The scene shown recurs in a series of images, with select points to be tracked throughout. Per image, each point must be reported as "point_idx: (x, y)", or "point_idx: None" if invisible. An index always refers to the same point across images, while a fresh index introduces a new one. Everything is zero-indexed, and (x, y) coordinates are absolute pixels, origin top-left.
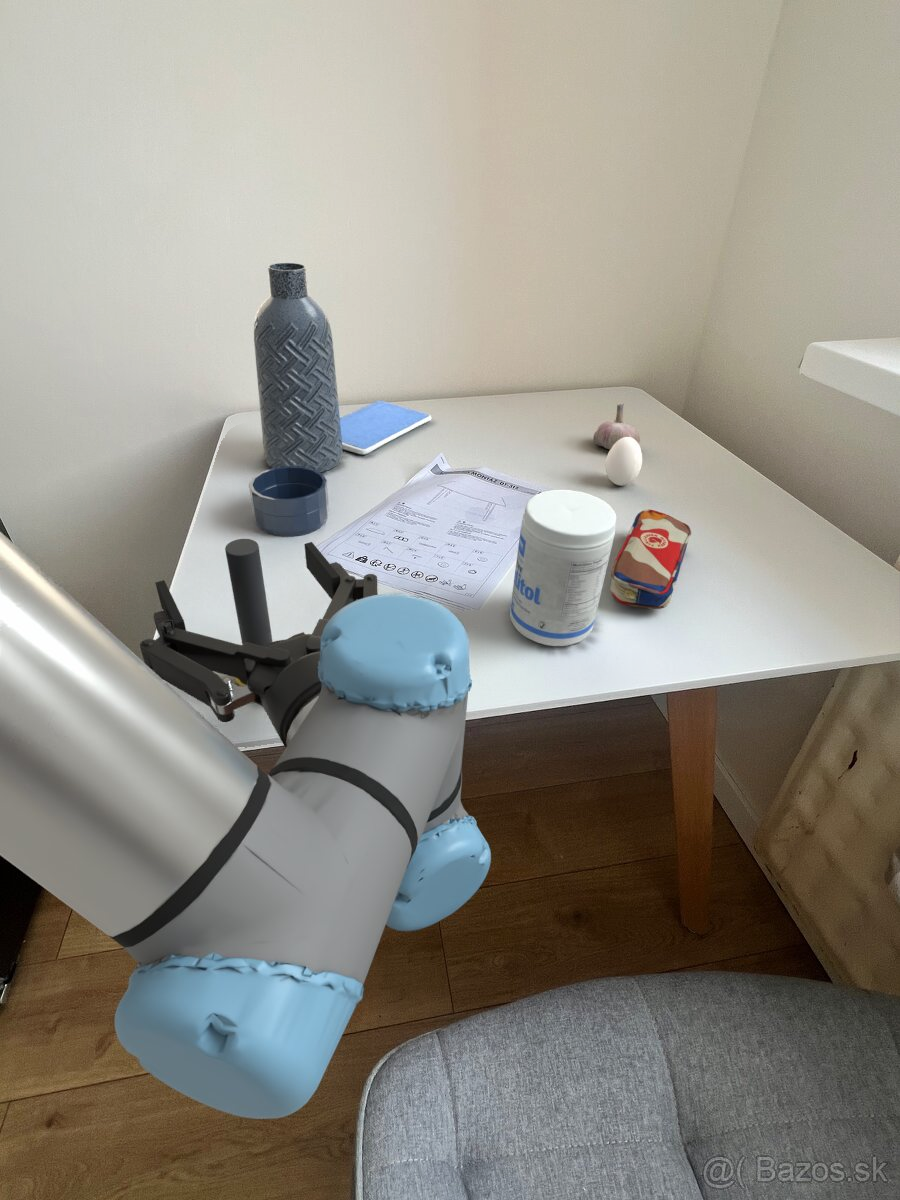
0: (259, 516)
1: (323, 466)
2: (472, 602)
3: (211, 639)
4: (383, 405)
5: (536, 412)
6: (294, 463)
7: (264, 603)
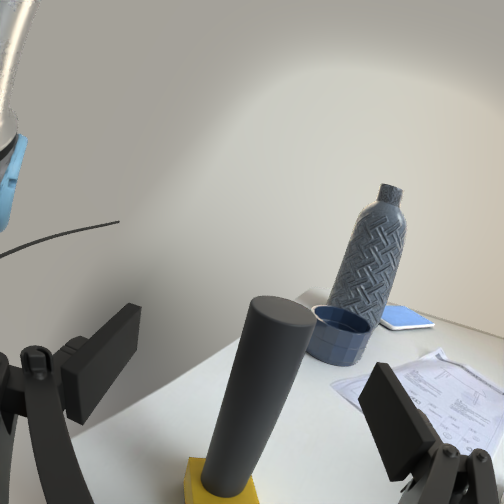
0: None
1: None
2: None
3: (67, 455)
4: (406, 309)
5: (488, 343)
6: None
7: (268, 429)
